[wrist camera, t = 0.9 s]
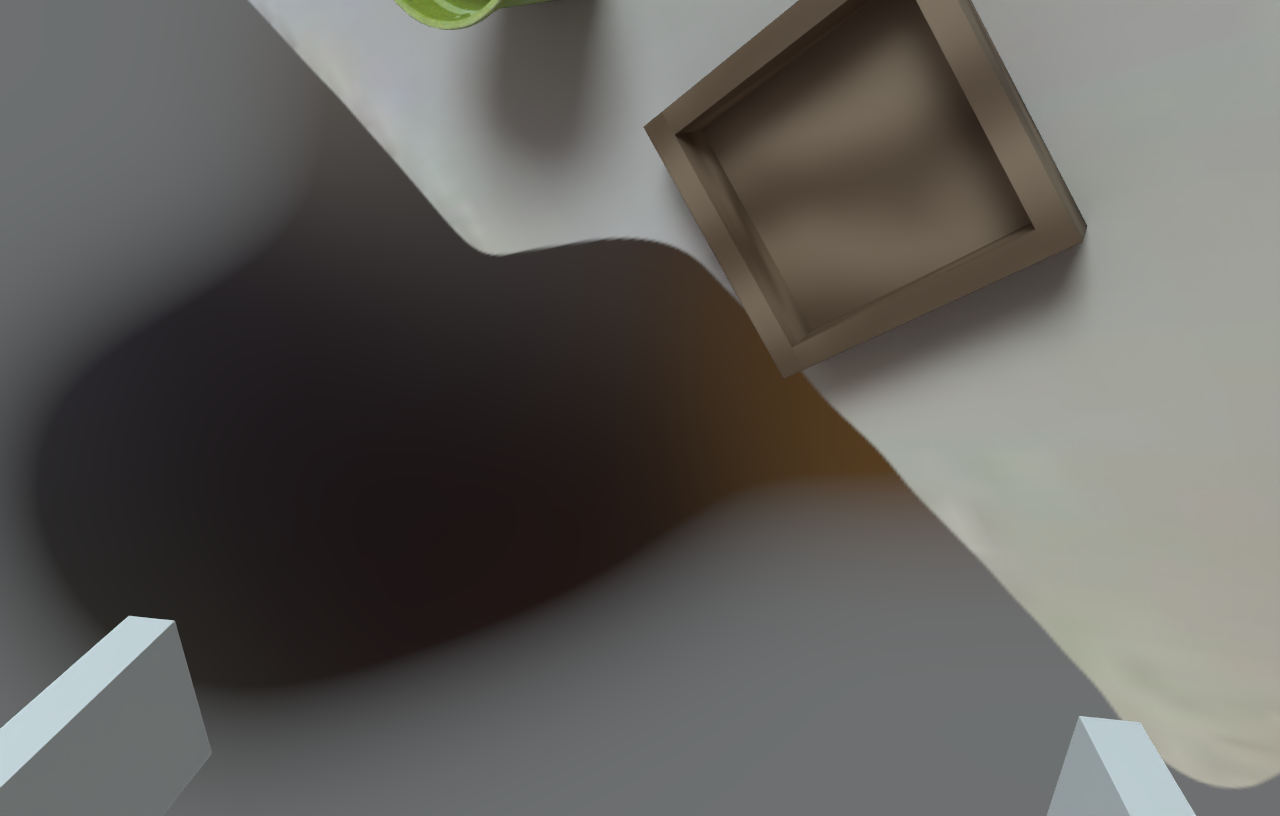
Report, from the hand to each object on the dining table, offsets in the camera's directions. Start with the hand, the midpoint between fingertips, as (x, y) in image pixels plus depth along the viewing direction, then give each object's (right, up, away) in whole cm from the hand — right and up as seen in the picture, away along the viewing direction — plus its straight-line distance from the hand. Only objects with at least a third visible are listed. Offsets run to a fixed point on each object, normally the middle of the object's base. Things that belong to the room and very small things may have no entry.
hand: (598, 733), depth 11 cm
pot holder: (+11, +16, +24) cm, 31 cm away
